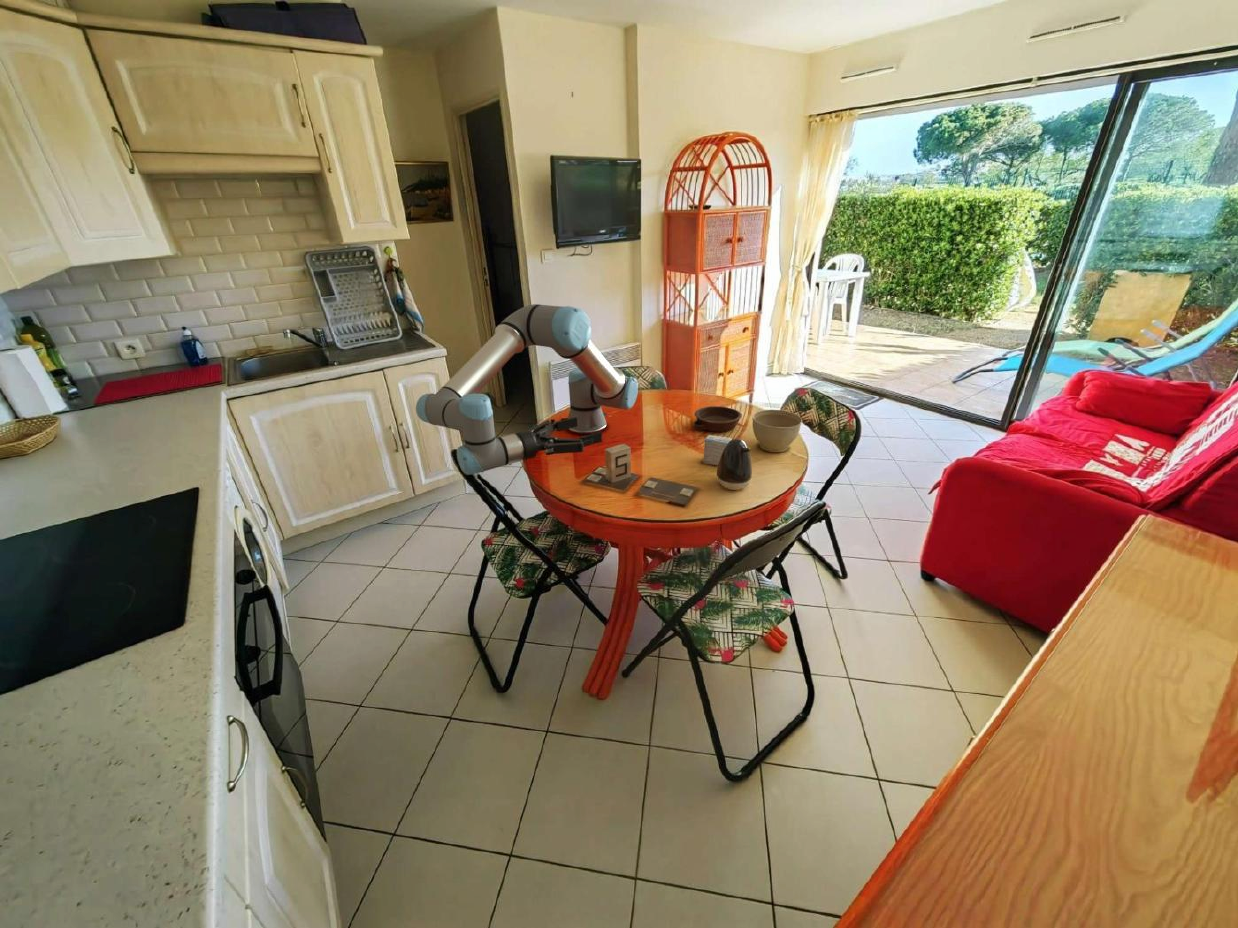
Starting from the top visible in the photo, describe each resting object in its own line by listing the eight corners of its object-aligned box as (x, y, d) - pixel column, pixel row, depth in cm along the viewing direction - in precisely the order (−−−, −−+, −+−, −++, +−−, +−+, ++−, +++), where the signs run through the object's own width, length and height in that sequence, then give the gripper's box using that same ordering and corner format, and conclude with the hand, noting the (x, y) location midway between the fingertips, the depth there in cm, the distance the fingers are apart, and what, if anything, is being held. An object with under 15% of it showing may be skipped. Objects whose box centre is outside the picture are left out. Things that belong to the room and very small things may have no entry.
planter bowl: (740, 441, 182) (743, 412, 177) (779, 435, 186) (783, 407, 181) (765, 460, 168) (769, 429, 163) (807, 453, 172) (812, 423, 167)
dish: (754, 426, 194) (756, 414, 192) (711, 440, 183) (712, 427, 181) (722, 413, 207) (723, 401, 205) (680, 425, 196) (680, 413, 194)
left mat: (582, 483, 156) (582, 480, 155) (599, 468, 164) (599, 465, 164) (623, 492, 150) (623, 489, 149) (639, 476, 159) (639, 473, 158)
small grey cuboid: (631, 477, 157) (631, 447, 153) (612, 483, 154) (611, 453, 149) (624, 472, 160) (624, 443, 155) (605, 478, 156) (604, 449, 152)
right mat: (636, 495, 148) (636, 492, 148) (650, 479, 157) (650, 476, 157) (684, 507, 142) (685, 503, 142) (697, 489, 151) (697, 486, 151)
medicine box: (730, 462, 167) (732, 437, 163) (726, 467, 163) (728, 443, 159) (706, 458, 170) (708, 434, 166) (702, 463, 166) (704, 439, 162)
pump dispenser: (730, 497, 146) (735, 449, 140) (708, 482, 155) (712, 436, 148) (758, 489, 151) (763, 442, 144) (735, 475, 159) (739, 430, 152)
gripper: (502, 444, 144) (568, 427, 155) (540, 477, 126) (612, 456, 136) (498, 419, 141) (566, 404, 151) (537, 450, 122) (612, 430, 133)
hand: (588, 429), depth 144 cm, fingers open, 13 cm apart
